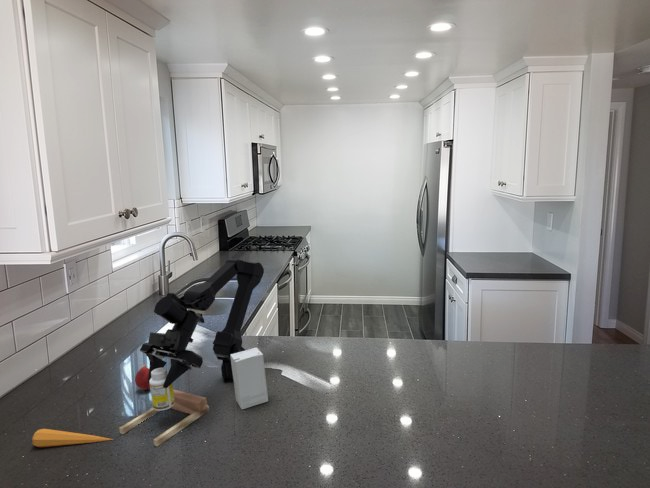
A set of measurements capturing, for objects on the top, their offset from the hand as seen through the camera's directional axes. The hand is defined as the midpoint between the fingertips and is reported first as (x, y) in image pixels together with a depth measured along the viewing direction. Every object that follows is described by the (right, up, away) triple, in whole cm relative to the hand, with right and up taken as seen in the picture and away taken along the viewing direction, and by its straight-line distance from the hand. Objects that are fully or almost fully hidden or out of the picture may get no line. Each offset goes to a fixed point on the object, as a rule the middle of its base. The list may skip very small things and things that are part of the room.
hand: (156, 385), depth 120 cm
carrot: (-19, -14, -4) cm, 24 cm away
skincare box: (+23, -8, +10) cm, 27 cm away
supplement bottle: (+1, -6, +2) cm, 7 cm away
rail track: (+1, -11, +3) cm, 11 cm away
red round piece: (-11, -8, +22) cm, 26 cm away
